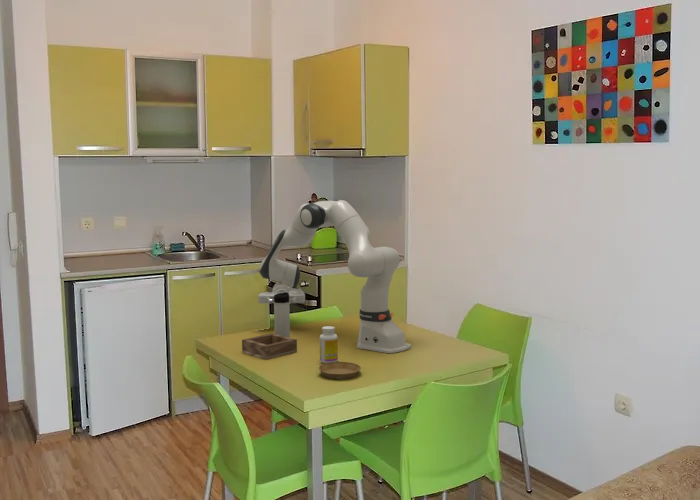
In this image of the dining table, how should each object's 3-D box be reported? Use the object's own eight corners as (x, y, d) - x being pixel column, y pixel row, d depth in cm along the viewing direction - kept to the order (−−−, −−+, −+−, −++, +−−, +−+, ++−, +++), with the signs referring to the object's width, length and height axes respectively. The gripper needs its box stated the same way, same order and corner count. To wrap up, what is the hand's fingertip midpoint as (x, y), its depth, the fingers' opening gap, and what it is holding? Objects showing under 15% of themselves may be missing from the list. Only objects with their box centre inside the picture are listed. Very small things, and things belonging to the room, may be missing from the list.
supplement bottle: (341, 361, 265) (341, 327, 264) (329, 365, 260) (328, 330, 259) (328, 358, 270) (328, 324, 268) (316, 361, 265) (315, 327, 263)
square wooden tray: (297, 352, 278) (296, 339, 278) (266, 359, 268) (266, 346, 267) (272, 345, 289) (272, 333, 288) (242, 352, 278) (241, 339, 278)
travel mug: (293, 340, 296) (292, 293, 293) (283, 344, 290) (282, 295, 288) (281, 338, 299) (280, 291, 296) (271, 342, 293) (270, 294, 291)
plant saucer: (358, 367, 258) (358, 360, 257) (363, 380, 243) (363, 372, 243) (317, 369, 256) (316, 362, 256) (320, 382, 242) (320, 374, 241)
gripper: (258, 288, 317) (256, 294, 304) (304, 287, 319) (305, 293, 305) (258, 302, 318) (257, 309, 304) (304, 301, 320) (305, 308, 306)
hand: (281, 301), depth 305 cm, fingers open, 8 cm apart
